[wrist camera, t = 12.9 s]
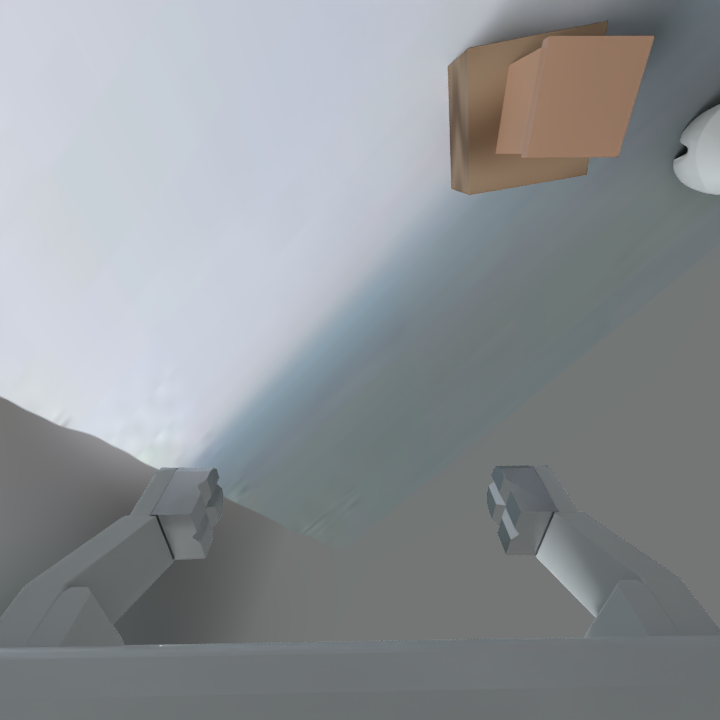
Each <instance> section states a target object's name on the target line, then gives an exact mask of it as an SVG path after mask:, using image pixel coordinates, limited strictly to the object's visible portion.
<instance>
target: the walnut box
mask: <svg viewBox="0 0 720 720" xmlns="http://www.w3.org/2000/svg"><path fill="white" fill-rule="evenodd" d="M607 24H608V21H604V22H599V23H594V24H589V25H584V26H579V27H574V28H569V29H563V30H558V31H553V32H548V33H543V34H538V35H533V36H528V37H523V38H518V39H513V40H507V41H502V42H497V43H492V44H487V45H482V46H477V47H472V48H468V49H467V50H466V51H465V52H464V53H462V54H461V55H460V56H459V57H458V58H457V59H456V60H455V61H453V62H452V63H451V64H450V65H449V66H448V88H449V121H450V155H451V188H452V189H454V190H457V191H459V192H462V193H465V194H468V195H472V194H478V193H484V192H490V191H495V190H501V189H507V188H513V187H519V186H524V185H530V184H536V183H542V182H548V181H553V180H559V179H565V178H571V177H576V176H582V175H587V171H588V163H589V157H552V158H521V155H522V154H496V147H497V141H498V134H499V128H500V121H501V115H502V108H503V102H504V95H505V89H506V83H507V76H508V70H509V65H511V64H512V63H514V62H516V61H518V60H519V59H521V58H523V57H525V56H527V55H528V54H530V53H532V52H534V51H536V50H537V49H539V48H541V47H542V43H543V40H544V39H546V38H547V37H549V36H606V31H607Z"/></svg>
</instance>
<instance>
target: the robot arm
mask: <svg viewBox="0 0 720 720" xmlns="http://www.w3.org/2000/svg"><path fill="white" fill-rule="evenodd" d="M492 477H493V480H494V482H493V483H492V484H491V485H490V486H489V488H488V492H487V504H488V509H489V512H490V515H491V518H492V519H493V520H494V521H495V522H496V523H497V524H498V525H500V526H499V529H498V532H497V533H498V536H499V538H500V541H501V544H502V546H503V549H504V551H505V554H506V555H537V556H536V557H537V558H538V559H539V560H540V561H541V562H542V564H544V566H546V568H547V569H548V570H549V571H550V572H551V573H552V574H553V575H554V576H556V578H557V579H558V580H559V581H560V582H561V583H562V584H563V585H564V586H565V587H566V588H567V589H568V590H569V591H570V592H571V593H572V594H573V595H574V596H575V597H576V598H577V599H578V600H579V601H580V602H581V603H582V604H583V605H584V606H585V607H586V608H587V609H588V610H589V611H590V612H591V613H592V614H593V615H594V616H595V617H596V618H595V620H594V621H593V623H592V625H591V626H590V628H589V629H588V631H587V633H586V635H585V637H583V638H528V639H527V638H526V639H467V640H406V641H349V642H292V643H234V644H181V645H180V644H178V645H125V646H124V643H123V640H122V638H121V637H120V635H119V633H118V632H117V630H116V629H115V627H114V626H113V624H114V623H115V622H116V621H117V620H118V619H119V618H120V617H121V616H122V614H124V613H125V612H126V610H128V609H129V608H130V607H131V606H132V604H133V603H134V602H135V601H136V600H137V599H138V598H139V597H140V596H141V595H142V594H143V593H144V592H145V591H146V590H147V589H148V588H149V587H150V586H151V585H152V584H153V583H154V582H155V580H157V578H158V577H159V576H160V575H161V574H162V573H163V572H164V571H165V570H166V569H167V568H168V567H169V566H170V565H171V564H172V563H173V562H174V560H176V559H198V558H199V559H201V558H206V555H207V552H208V550H209V547H210V544H211V542H212V539H213V532H212V529H211V528H212V527H213V526H214V525H215V524H217V523H218V522H219V519H220V516H221V513H222V508H223V491H222V488H221V487H220V486H219V485H217V481H218V479H219V475H218V472H217V469H215V468H161V469H160V470H158V471H157V472H156V474H155V475H154V477H153V479H152V480H151V482H150V483H149V485H148V487H147V488H146V490H145V492H144V493H143V495H142V496H141V498H140V500H139V502H138V503H137V504H136V506H135V508H134V509H133V511H132V513H131V514H130V516H123V517H122V518H121V519H119V520H118V521H116V522H115V523H114V524H112V525H111V526H109V527H108V528H106V529H105V530H104V531H102V532H101V533H99V534H98V535H96V536H95V537H94V538H92V539H91V540H89V541H88V542H86V543H85V544H84V545H82V546H81V547H79V548H78V549H76V550H75V551H74V552H72V553H71V554H69V555H68V556H66V557H65V558H64V559H62V560H61V561H59V562H58V563H57V564H55V565H54V566H53V567H51V568H49V569H48V570H46V571H45V572H44V573H42V574H41V575H39V576H38V577H37V578H35V579H34V580H32V581H31V582H29V583H28V584H27V585H25V586H24V587H23V589H22V590H21V591H20V593H19V594H18V595H17V596H16V598H15V599H14V600H13V602H12V603H11V604H10V606H9V607H8V608H7V610H6V611H5V612H4V614H3V615H2V616H1V617H0V720H720V629H719V627H718V626H717V625H716V623H715V622H714V621H713V620H712V618H711V617H710V616H709V614H708V613H707V612H706V611H705V609H704V608H703V607H702V605H701V604H700V603H699V601H698V600H697V599H696V598H695V596H694V595H693V594H692V593H691V591H690V590H689V589H688V587H687V586H686V585H685V583H684V582H683V581H682V580H681V578H680V577H678V576H677V575H675V574H674V573H672V572H671V571H670V570H668V569H667V568H665V567H664V566H662V565H661V564H659V563H658V562H656V561H655V560H653V559H652V558H650V557H649V556H648V555H646V554H645V553H643V552H642V551H640V550H639V549H637V548H636V547H634V546H633V545H632V544H630V543H629V542H627V541H626V540H625V539H623V538H622V537H620V536H619V535H617V534H616V533H614V532H613V531H611V530H610V529H608V528H607V527H606V526H604V525H603V524H601V523H600V522H598V521H597V520H595V519H594V518H593V517H591V516H589V515H588V514H587V513H585V512H579V511H578V509H577V508H576V506H575V504H574V503H573V501H572V500H571V498H570V497H569V495H568V494H567V492H566V491H565V489H564V487H563V486H562V484H561V483H560V481H559V480H558V478H557V477H556V475H555V474H554V472H553V470H552V469H551V468H550V467H549V466H547V465H542V466H496V467H495V468H494V469H493V473H492Z"/></svg>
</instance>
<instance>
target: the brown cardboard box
mask: <svg viewBox="0 0 720 720" xmlns="http://www.w3.org/2000/svg"><path fill="white" fill-rule="evenodd" d="M654 37H655V36H549V37H547V38H546V39H544V40H543V43H542V47H541V48H539V49H537V50H536V51H534V52H532V53H530V54H528V55H527V56H525V57H523V58H521V59H519V60H518V61H516V62H514V63H512V64H511V65H509V70H508V76H507V83H506V89H505V95H504V102H503V108H502V115H501V121H500V128H499V134H498V141H497V147H496V154H522V155H521V158H552V157H618V156H619V153H620V150H621V146H622V143H623V140H624V136H625V133H626V130H627V126H628V123H629V120H630V117H631V113H632V110H633V107H634V103H635V100H636V97H637V93H638V90H639V87H640V83H641V80H642V77H643V73H644V70H645V67H646V64H647V60H648V57H649V54H650V50H651V47H652V44H653V40H654Z"/></svg>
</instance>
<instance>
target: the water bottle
mask: <svg viewBox="0 0 720 720" xmlns="http://www.w3.org/2000/svg"><path fill="white" fill-rule="evenodd" d="M679 141H680V142H681V143H682V144H683V145H685V146H687V148H688V152H687V153H686V154H684V155H682V156H680V157H679V158H677V159H675V160H674V163H673V169H674V172H675V174H676V176H677V177H678V179H679V180H680V181H681V182H682V183H683V184H685V185H686V186H688V187H690V188H692V189H695V190H697V191H700V192H704V193H708V194H717V195H719V194H720V104H719V105H717V106H715V107H713V108H711V109H709V110H707V111H705V112H704V113H702V114H701V115H699V116H698V117H697V118H695V119H694V120H693V121H692V122H691V123H690V124H689V125H688V126H687V127H686V129H685V130H684V131H683V132H682V135H681V138H680V140H679Z"/></svg>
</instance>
